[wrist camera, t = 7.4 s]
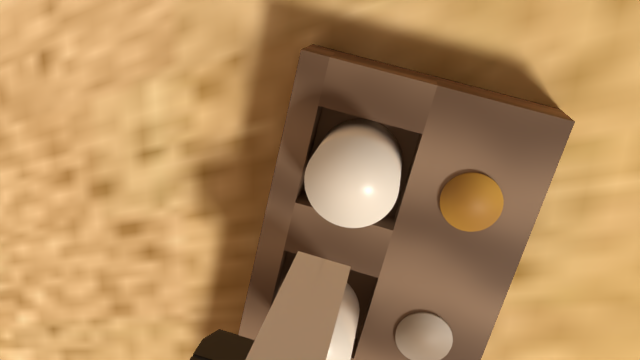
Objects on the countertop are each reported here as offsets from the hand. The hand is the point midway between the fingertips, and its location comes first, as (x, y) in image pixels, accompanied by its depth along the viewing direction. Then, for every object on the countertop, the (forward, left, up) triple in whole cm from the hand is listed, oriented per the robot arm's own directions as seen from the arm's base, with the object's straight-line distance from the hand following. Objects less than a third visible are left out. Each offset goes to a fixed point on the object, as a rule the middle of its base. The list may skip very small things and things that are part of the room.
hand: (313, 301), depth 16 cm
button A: (0, 0, -15) cm, 15 cm away
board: (+8, +2, -17) cm, 19 cm away
